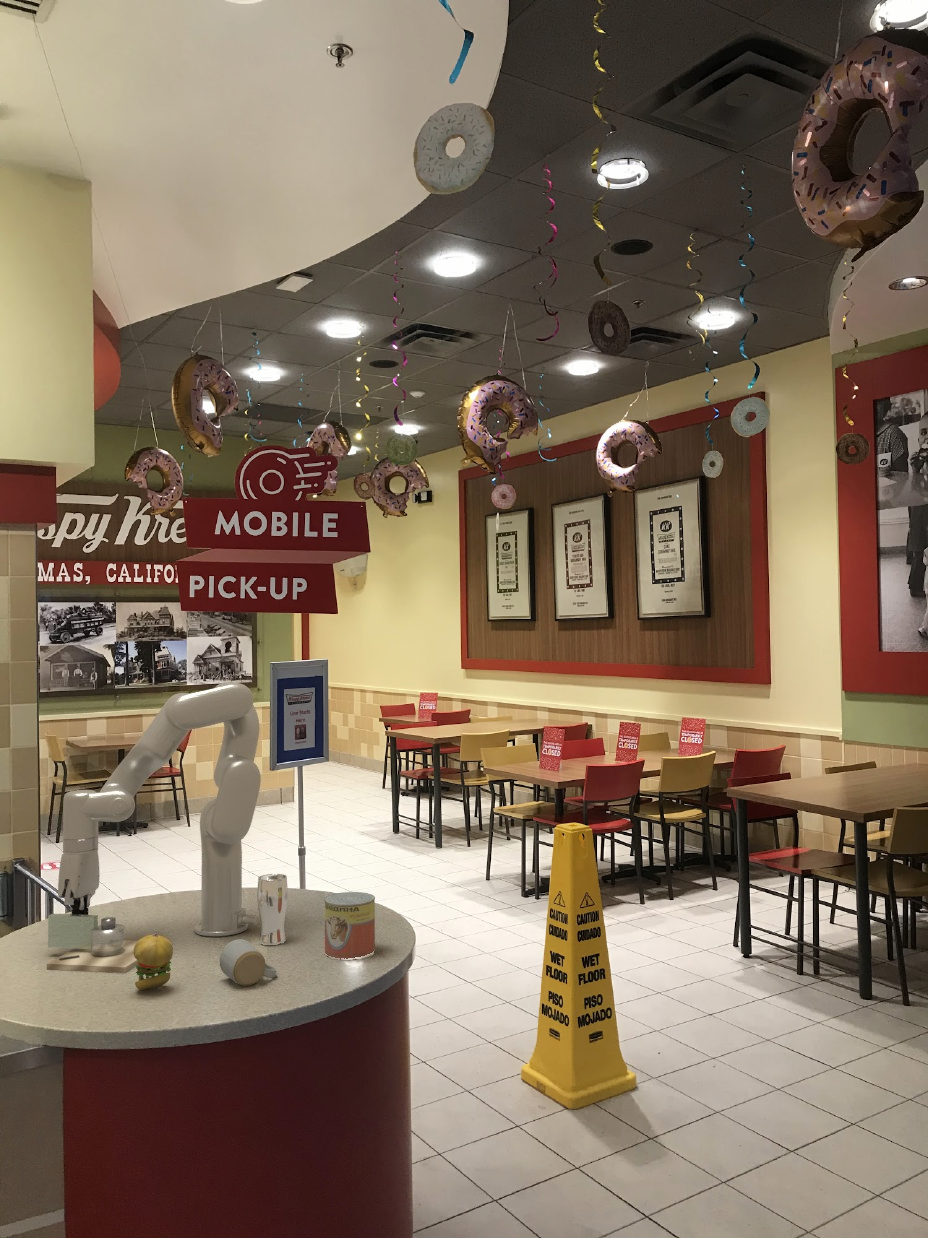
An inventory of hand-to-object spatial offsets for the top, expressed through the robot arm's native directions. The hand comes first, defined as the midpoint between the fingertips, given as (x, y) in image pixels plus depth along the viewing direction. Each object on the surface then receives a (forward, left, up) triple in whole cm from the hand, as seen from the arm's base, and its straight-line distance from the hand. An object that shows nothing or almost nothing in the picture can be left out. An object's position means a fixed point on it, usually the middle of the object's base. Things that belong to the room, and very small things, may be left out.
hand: (79, 926), depth 216 cm
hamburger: (-30, +23, -5) cm, 38 cm away
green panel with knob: (-5, +5, -4) cm, 8 cm away
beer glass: (-42, -11, -5) cm, 44 cm away
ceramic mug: (-47, +15, -6) cm, 49 cm away
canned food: (-62, -6, -5) cm, 63 cm away
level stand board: (-10, +5, -5) cm, 12 cm away
